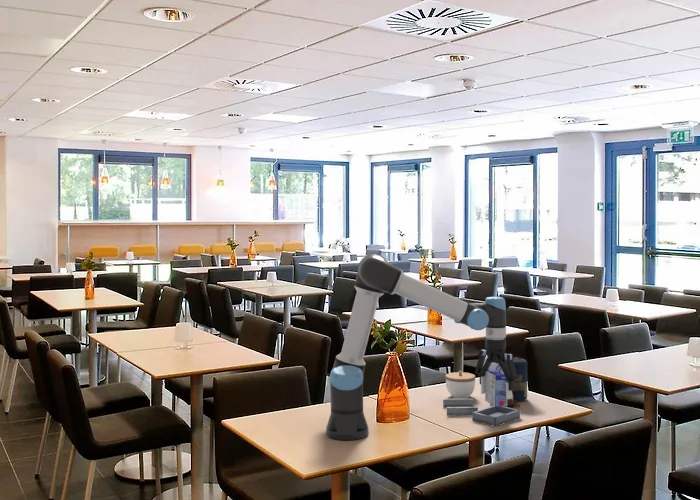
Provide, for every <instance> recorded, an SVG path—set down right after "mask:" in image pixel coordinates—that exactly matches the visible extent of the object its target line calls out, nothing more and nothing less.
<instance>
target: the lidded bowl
mask: <svg viewBox="0 0 700 500" xmlns="http://www.w3.org/2000/svg"><path fill="white" fill-rule="evenodd" d="M475 385H476V374H473V373H470V372H463V371H462V370H459V371H457V372H454V371H453V372H450V373H446V374H445V387H446V390H447V392H448V393H449V394H450V396H451V397H452V399H470V396H471V395H472V394H473V393H474V390H475V387H476V386H475Z"/></svg>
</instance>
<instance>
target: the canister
mask: <svg viewBox="0 0 700 500" xmlns="http://www.w3.org/2000/svg"><path fill="white" fill-rule="evenodd" d="M505 360H506V359H505ZM506 362H507V360H506ZM513 362H514V365H515V369H516V372H517V376H518V380H516V381H514V382H513V390H512V393H513V401H515V402H523V401H526V400H527V399H528V361H527V360H526V359H524V358H521V357H518V356H515V357H513ZM506 364H507V363H506ZM507 366H508V365H507Z"/></svg>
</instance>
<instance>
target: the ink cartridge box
mask: <svg viewBox="0 0 700 500" xmlns="http://www.w3.org/2000/svg"><path fill="white" fill-rule="evenodd" d="M501 370H502V368H501V366H499V364H497V366H496V367H495V369H488V370H486V375H484V376H485V393H484V401H485V402H487V404H489V405H490V404H491V405H493V406H494V407H507V406H508V400H507V399H506V382H507V379H506V377H505V375H504V373H503V371H501ZM491 405H490V406H491Z"/></svg>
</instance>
